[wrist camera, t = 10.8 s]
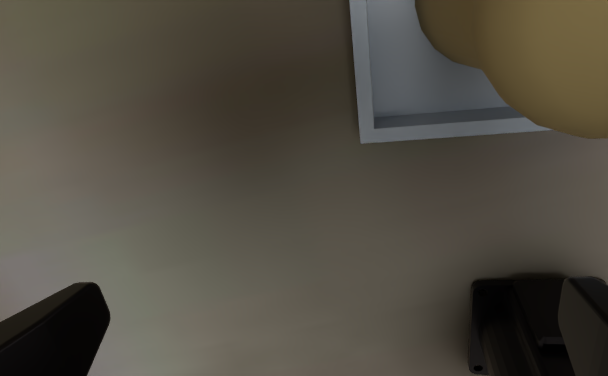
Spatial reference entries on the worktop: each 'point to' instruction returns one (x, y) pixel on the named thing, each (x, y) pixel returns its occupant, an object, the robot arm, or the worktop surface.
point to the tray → (418, 82)
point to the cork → (531, 55)
